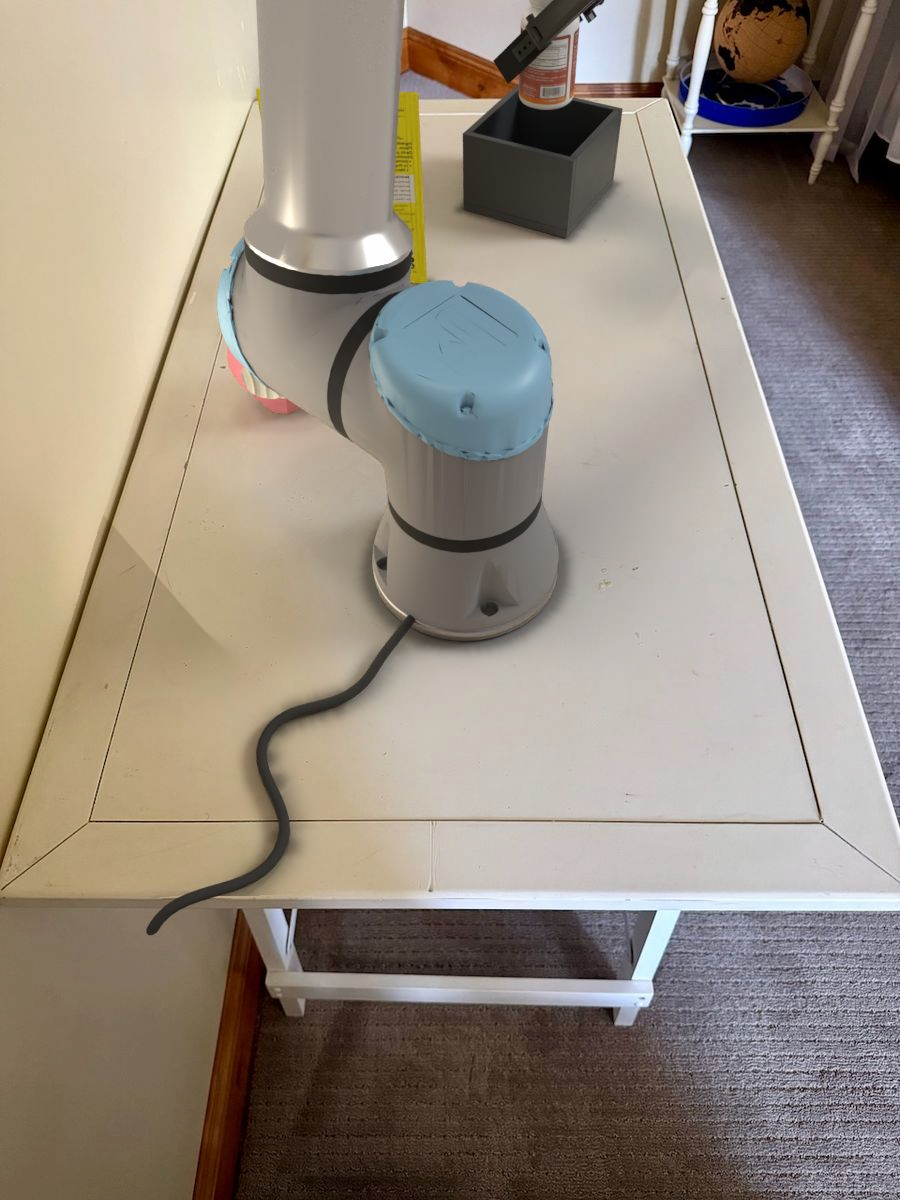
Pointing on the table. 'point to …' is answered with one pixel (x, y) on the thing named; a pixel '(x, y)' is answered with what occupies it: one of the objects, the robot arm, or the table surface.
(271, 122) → the robot arm
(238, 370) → the apple
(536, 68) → the pill bottle
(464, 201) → the trash bin
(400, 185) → the food package
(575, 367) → the table surface
